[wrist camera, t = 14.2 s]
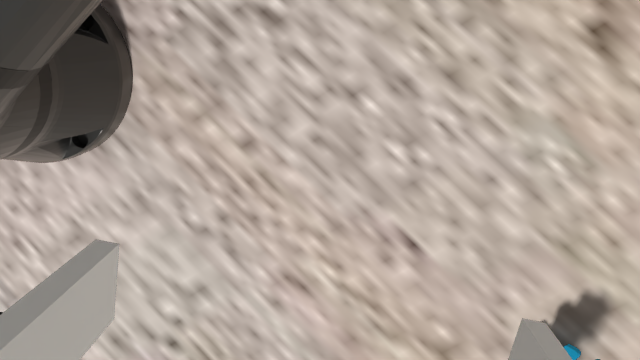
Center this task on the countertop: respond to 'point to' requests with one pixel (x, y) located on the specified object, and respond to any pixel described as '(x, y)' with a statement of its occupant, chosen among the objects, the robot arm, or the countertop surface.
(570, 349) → the gear
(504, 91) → the countertop surface
